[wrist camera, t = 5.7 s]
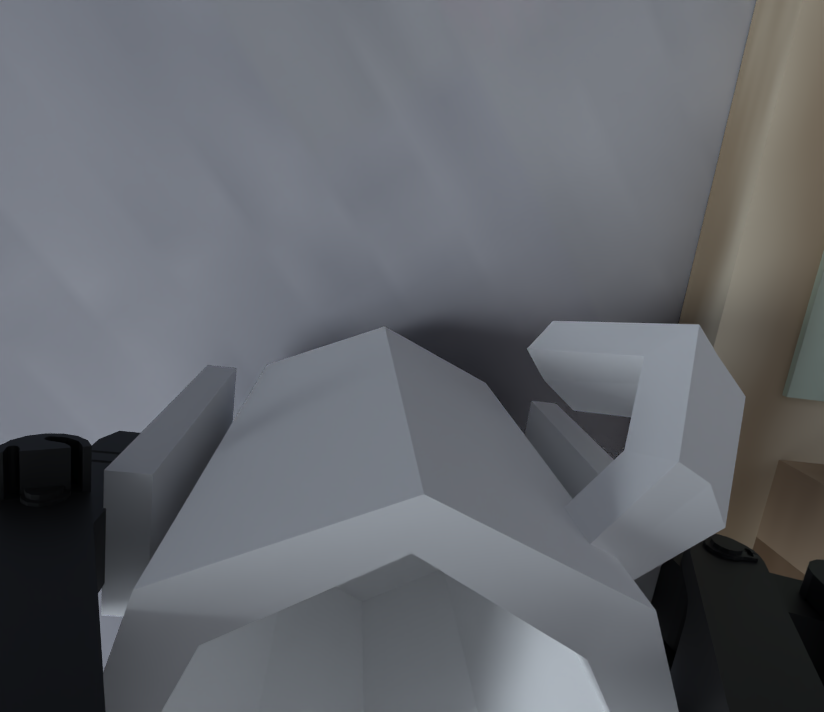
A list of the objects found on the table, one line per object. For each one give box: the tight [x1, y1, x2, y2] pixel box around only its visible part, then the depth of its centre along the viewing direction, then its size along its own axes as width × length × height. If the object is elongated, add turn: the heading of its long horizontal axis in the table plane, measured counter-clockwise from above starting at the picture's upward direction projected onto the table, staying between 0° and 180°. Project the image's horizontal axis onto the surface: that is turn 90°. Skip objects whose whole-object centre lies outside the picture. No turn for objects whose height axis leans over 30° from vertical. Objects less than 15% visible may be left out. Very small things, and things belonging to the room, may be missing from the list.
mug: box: [103, 321, 746, 712], centre depth 12 cm, size 12×9×10 cm
